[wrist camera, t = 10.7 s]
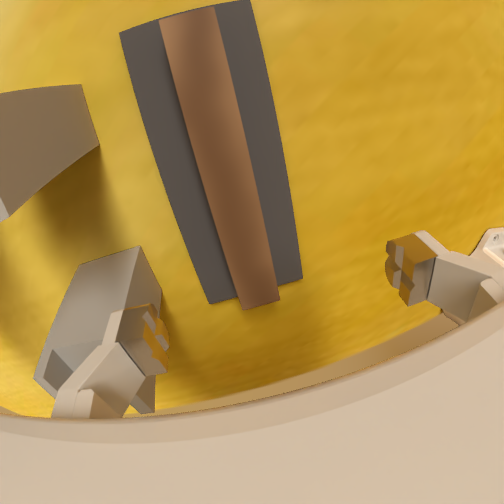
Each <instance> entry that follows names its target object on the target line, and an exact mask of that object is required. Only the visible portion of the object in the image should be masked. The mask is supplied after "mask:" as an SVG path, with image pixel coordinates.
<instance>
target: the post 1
mask: <svg viewBox="0 0 504 504" xmlns="http://www.w3.org/2000/svg"><path fill="white" fill-rule="evenodd" d="M98 145H100V144H99V141H98V138H97V135H96V132H95V129H94V126H93V123H92V120H91V117H90V113H89V110H88V107H87V104H86V100H85V97H84V93H83V90H82V86H81V84H78V85H62V86H51V87H41V88H33V89H25V90H18V91H12V92H6V93H0V222H1V221H3V220H5V219H7V218H8V217H10V216H11V215H12V214H13V213H14V212H15V211H16V210H17V209H18V208H19V207H21V206H22V205H23V204H24V203H25V202H26V201H27V200H28V199H29V198H31V197H32V196H33V195H34V194H35V193H36V192H38V191H39V190H40V189H41V188H42V187H43V186H45V185H46V184H47V183H48V182H50V181H51V180H52V179H53V178H55V177H56V176H57V175H58V174H60V173H61V172H62V171H63V170H65V169H66V168H67V167H69V166H70V165H71V164H73V163H74V162H75V161H77V160H78V159H80V158H81V157H82V156H84V155H85V154H87V153H88V152H89V151H91V150H92V149H94V148H95V147H97V146H98Z"/></svg>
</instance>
